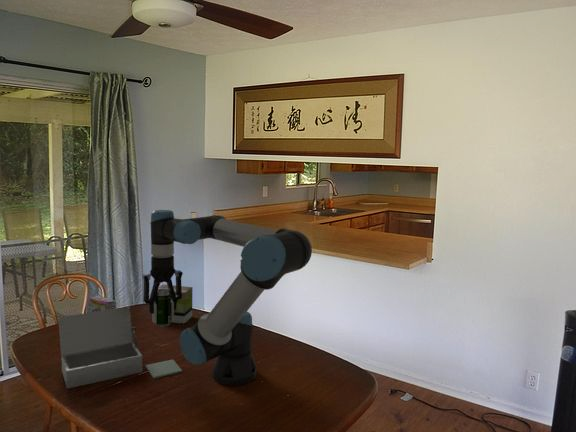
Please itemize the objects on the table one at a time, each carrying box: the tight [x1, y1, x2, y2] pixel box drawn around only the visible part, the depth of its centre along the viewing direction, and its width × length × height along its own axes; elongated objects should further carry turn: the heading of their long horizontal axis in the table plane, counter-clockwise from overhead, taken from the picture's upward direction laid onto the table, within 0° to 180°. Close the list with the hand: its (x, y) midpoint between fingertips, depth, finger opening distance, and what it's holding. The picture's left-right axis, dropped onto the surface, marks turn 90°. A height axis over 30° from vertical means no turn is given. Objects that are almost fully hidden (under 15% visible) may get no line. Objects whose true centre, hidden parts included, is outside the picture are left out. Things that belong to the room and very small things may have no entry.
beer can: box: [154, 289, 172, 328], centre depth 162 cm, size 5×5×12 cm
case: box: [58, 306, 143, 389], centre depth 163 cm, size 18×25×18 cm
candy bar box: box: [88, 295, 117, 313], centre depth 190 cm, size 11×5×16 cm, turn 58°
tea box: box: [154, 283, 193, 325], centre depth 214 cm, size 15×10×15 cm
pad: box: [145, 359, 183, 380], centre depth 165 cm, size 10×10×1 cm
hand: (163, 320), depth 163 cm, fingers closed on beer can, 5 cm apart
